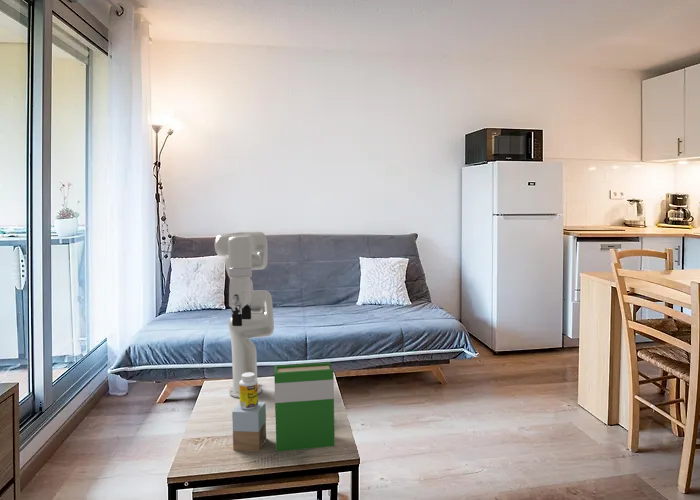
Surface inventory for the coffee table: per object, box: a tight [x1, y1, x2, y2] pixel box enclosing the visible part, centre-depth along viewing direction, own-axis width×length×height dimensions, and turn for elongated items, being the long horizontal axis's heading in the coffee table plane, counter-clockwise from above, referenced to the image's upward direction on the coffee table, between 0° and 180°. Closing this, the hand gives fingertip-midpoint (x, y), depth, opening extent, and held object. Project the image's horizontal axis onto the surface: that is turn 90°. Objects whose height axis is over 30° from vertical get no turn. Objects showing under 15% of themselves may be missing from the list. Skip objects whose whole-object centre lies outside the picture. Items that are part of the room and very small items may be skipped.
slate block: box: [231, 401, 267, 432], centre depth 150 cm, size 8×8×6 cm
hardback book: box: [273, 361, 336, 452], centre depth 150 cm, size 18×7×24 cm, turn 99°
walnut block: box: [232, 420, 267, 452], centre depth 150 cm, size 8×8×6 cm
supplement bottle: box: [239, 372, 259, 410], centre depth 149 cm, size 6×6×10 cm
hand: (242, 322), depth 165 cm, fingers open, 9 cm apart
